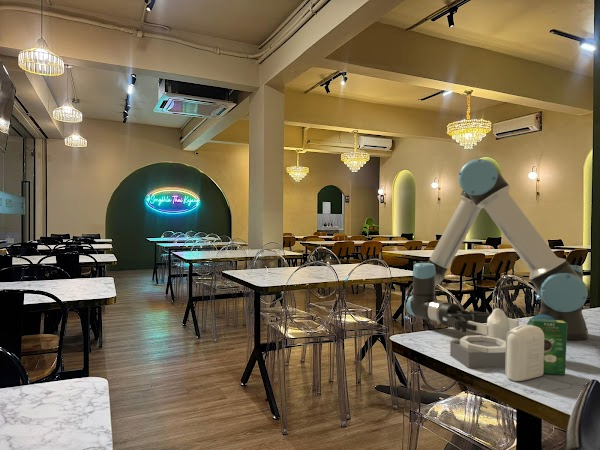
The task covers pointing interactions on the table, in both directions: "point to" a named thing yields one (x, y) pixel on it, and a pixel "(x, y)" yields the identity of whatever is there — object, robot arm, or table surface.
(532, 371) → the photo printer
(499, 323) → the cream tapered cylinder
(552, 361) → the coffee box
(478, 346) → the octagonal hole block
